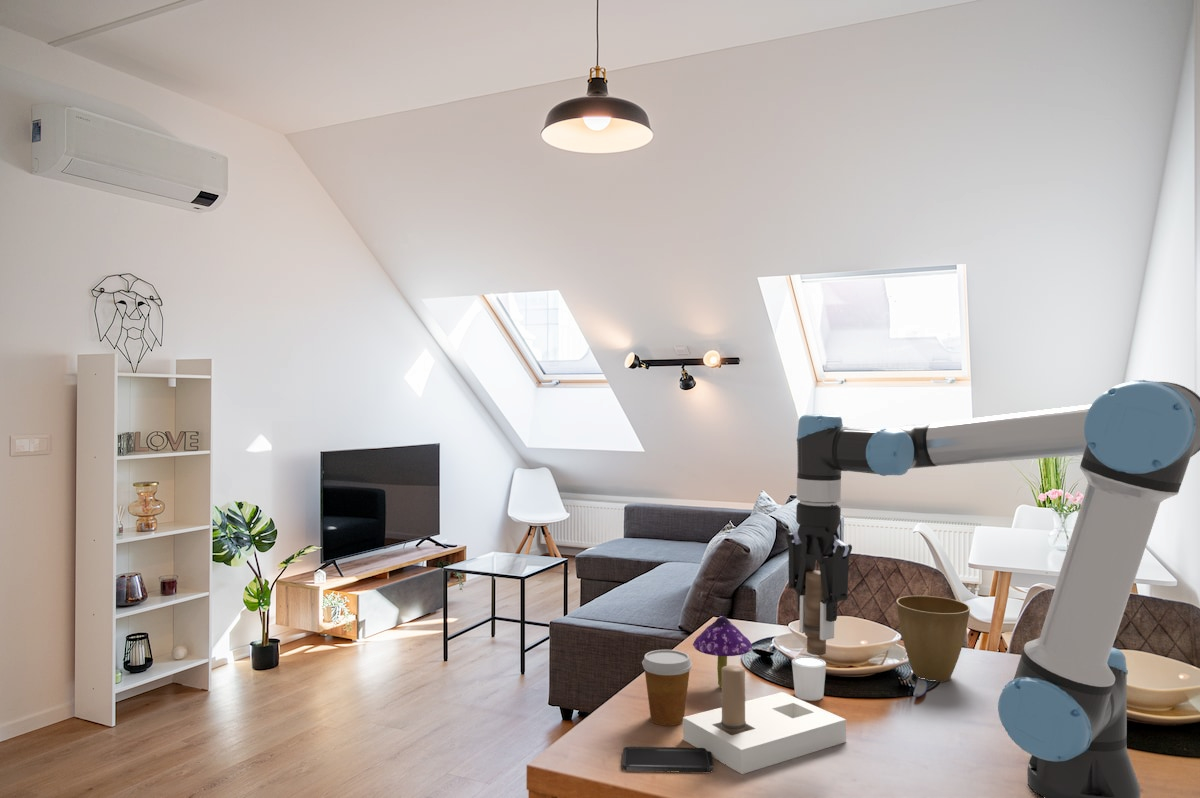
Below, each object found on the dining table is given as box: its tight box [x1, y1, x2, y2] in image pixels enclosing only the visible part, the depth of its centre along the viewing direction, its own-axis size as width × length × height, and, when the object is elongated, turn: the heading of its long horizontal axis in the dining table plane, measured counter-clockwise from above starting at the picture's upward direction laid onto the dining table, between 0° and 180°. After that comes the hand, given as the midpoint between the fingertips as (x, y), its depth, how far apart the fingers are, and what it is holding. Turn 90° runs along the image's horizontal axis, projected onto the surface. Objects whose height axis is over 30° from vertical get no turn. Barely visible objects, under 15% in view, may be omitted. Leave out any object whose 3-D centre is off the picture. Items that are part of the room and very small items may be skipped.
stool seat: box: [682, 665, 847, 775], centre depth 148 cm, size 16×24×14 cm, turn 121°
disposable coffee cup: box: [641, 649, 693, 727], centre depth 158 cm, size 10×10×12 cm
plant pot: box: [896, 595, 971, 683], centre depth 181 cm, size 15×15×16 cm
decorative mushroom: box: [692, 615, 753, 688], centre depth 175 cm, size 12×12×15 cm
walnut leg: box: [804, 569, 827, 656], centre depth 146 cm, size 4×4×14 cm
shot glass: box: [791, 656, 827, 701], centre depth 170 cm, size 7×7×7 cm
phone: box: [621, 745, 714, 774], centre depth 140 cm, size 8×1×15 cm
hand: (816, 634), depth 146 cm, fingers closed on walnut leg, 4 cm apart
